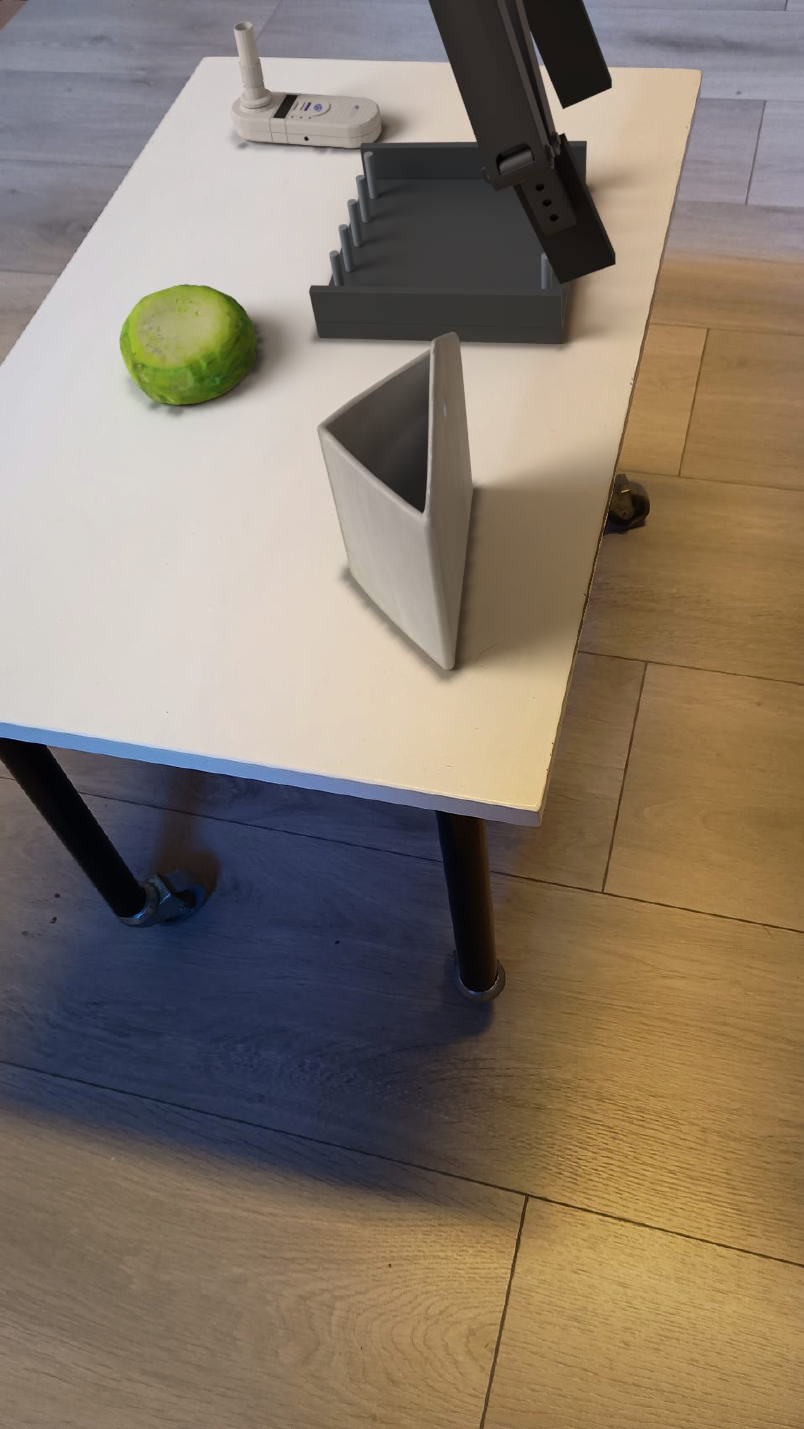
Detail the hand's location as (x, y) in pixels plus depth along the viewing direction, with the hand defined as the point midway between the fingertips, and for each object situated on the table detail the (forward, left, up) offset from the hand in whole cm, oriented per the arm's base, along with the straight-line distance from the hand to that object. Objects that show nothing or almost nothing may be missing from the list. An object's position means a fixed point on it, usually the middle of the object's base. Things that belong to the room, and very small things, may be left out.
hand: (587, 177), depth 55 cm
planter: (+11, +4, -27) cm, 29 cm away
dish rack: (+13, -31, -26) cm, 43 cm away
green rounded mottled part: (+33, -17, -27) cm, 46 cm away
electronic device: (+31, -51, -27) cm, 65 cm away
